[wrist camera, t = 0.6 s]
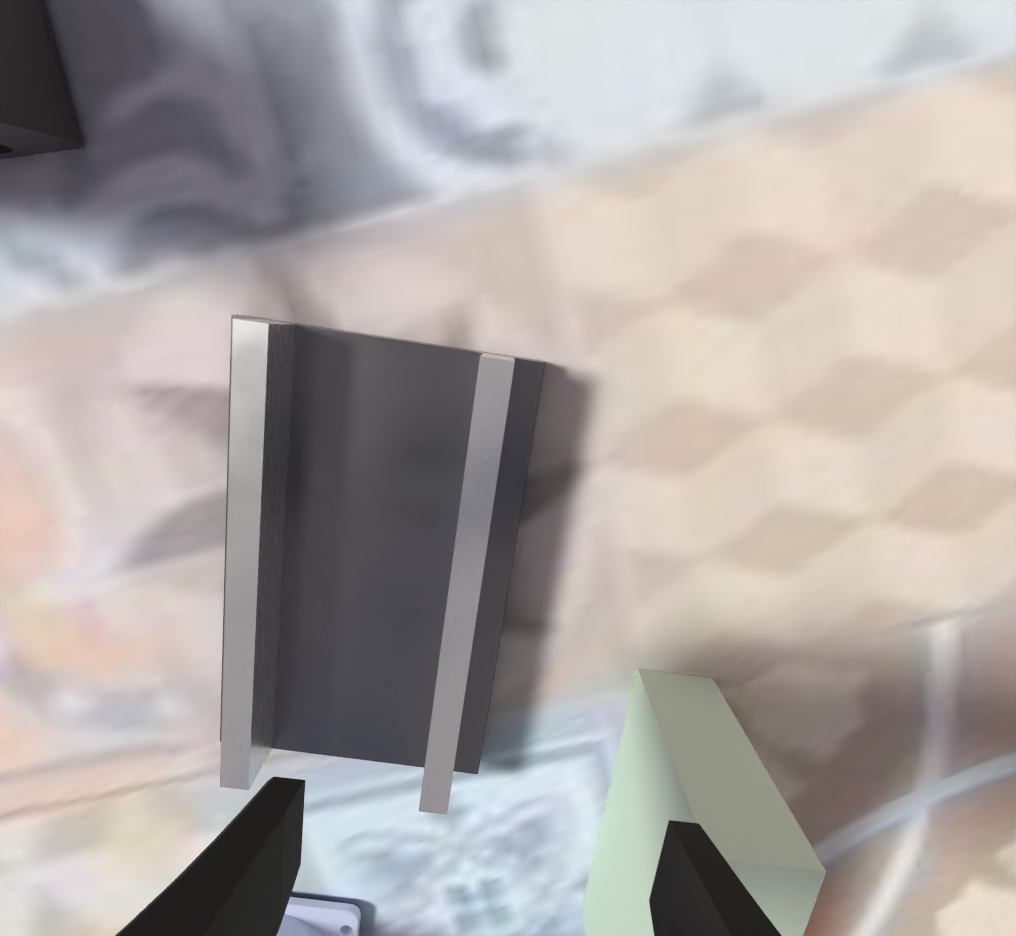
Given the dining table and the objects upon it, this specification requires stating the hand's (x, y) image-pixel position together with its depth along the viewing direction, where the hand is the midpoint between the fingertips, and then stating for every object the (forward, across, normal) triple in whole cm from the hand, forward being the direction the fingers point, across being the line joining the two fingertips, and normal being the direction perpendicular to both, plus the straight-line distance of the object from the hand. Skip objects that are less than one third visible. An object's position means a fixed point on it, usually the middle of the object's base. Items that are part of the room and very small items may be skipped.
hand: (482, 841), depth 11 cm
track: (+10, +5, -1) cm, 11 cm away
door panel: (+10, -7, +8) cm, 15 cm away
